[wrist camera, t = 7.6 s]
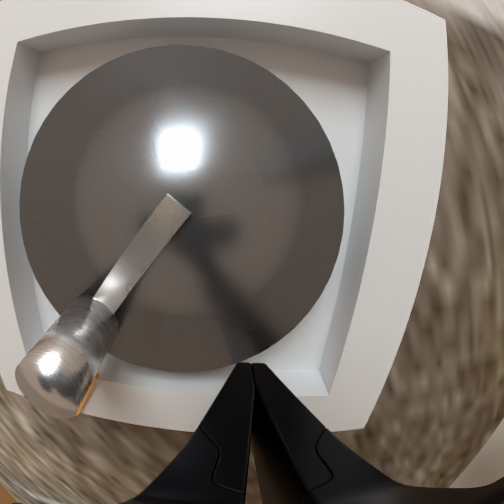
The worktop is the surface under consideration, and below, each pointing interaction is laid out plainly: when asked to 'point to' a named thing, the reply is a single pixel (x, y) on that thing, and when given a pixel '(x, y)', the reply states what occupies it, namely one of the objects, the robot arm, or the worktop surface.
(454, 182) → the worktop surface
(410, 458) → the worktop surface
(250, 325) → the dial
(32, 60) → the bezel
